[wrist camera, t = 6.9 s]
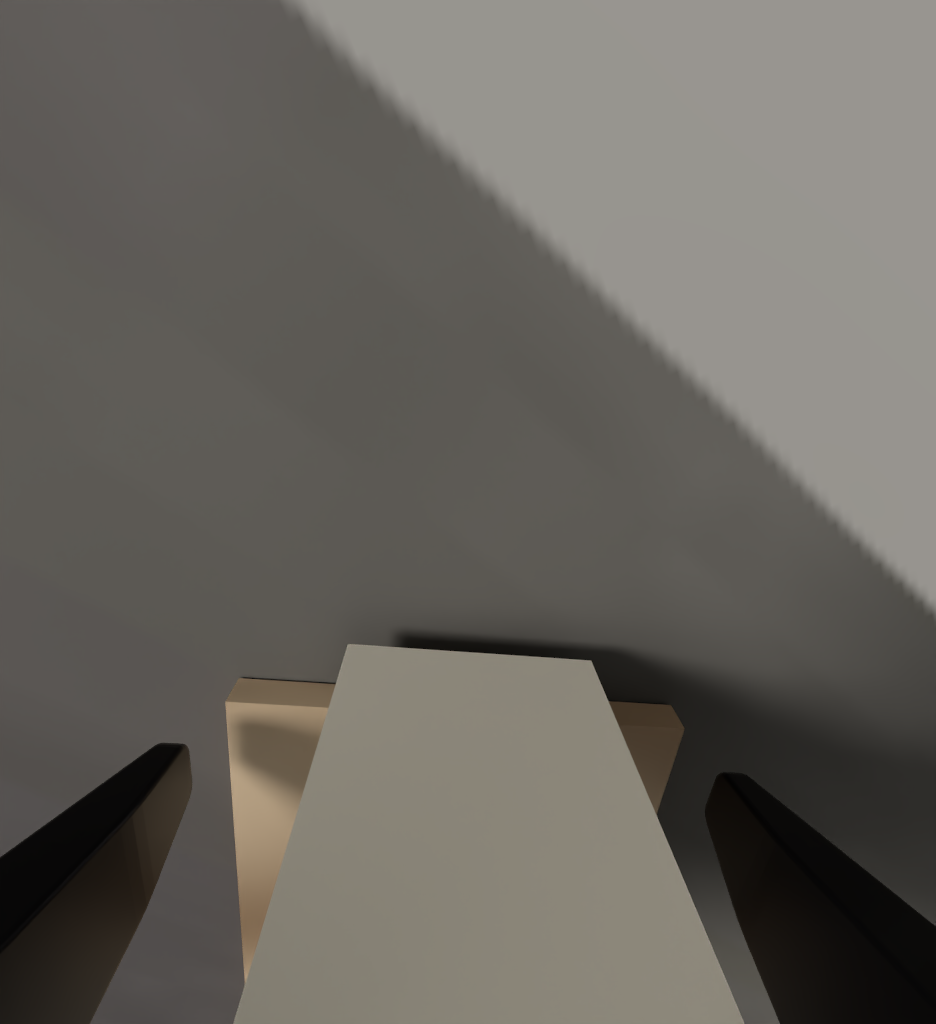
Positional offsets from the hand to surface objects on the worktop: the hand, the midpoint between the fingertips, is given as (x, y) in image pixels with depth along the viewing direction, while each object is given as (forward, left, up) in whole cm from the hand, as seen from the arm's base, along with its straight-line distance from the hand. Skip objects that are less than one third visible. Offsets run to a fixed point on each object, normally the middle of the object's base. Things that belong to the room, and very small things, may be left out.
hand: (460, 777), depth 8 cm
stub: (0, 0, -1) cm, 1 cm away
